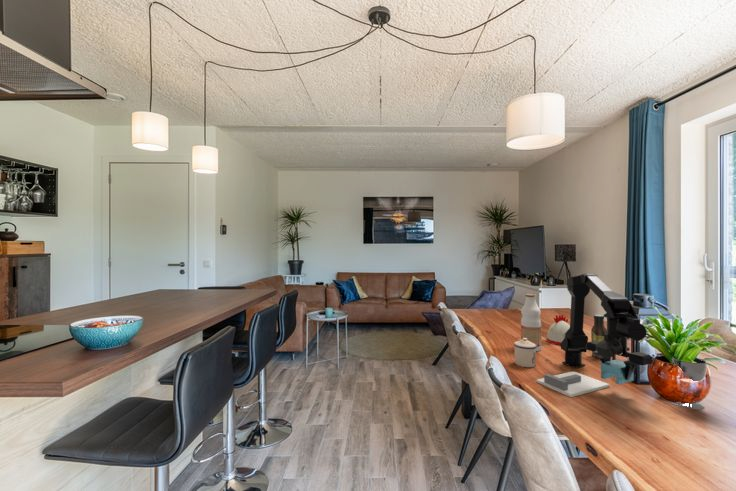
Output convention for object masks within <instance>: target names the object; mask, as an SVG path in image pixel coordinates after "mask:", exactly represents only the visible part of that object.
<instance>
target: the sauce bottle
mask: <svg viewBox="0 0 736 491" xmlns="http://www.w3.org/2000/svg"><path fill="white" fill-rule="evenodd" d="M593 320H594V321H593V325H592V327H591V329H590V330H591V332H590V334H591V336H590V337H591V338H590V340H591V341H590V342H592V341H598V342H600V341H603V340H604V336H605V334H607V327H606V326H605V323H604V321H605V317H604V314H599V313H598V314H594V315H593ZM594 352H595V351H594ZM591 355H592V357H594V358H596V359H600V358H599V357H598V356H597V355H596V354H594V353H593V351H591Z"/></svg>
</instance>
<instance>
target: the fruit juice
mask: <svg viewBox="0 0 736 491" xmlns="http://www.w3.org/2000/svg"><path fill="white" fill-rule="evenodd" d="M536 298H537V294H534V293H526V294H525V302H524V304H523V306H522V307H521V310H520V313H521V318H520V340H523V338H527V340H528V341H530V342H532V343H534V344H535V345H536V352H540V351H541V350H542V320H541V315H542V310H541V309H540V307H539V305H538V303H537V300H536Z"/></svg>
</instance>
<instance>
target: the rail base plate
mask: <svg viewBox="0 0 736 491" xmlns="http://www.w3.org/2000/svg"><path fill="white" fill-rule="evenodd" d="M543 376H544V377H542V378H537V379H536V383H538V384H540V385H542V386H544V387H546V388H549V389H551V390H554V391H556V392H558V393H560V394H563V395H565V396H567V397H569V398H573V397H578V396H581V395H585V394H589V393H593V392H596V391H600V390H604V389H607V388H610V383H608V382H607V383H606V382H604V381H601V380H598V379H596V378H593V377H590V376H588V375H585V374H582V373H579V372H576V371H568V372H564V373H560V374H556V375H554V374H550V373H544V374H543Z"/></svg>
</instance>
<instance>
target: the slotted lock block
mask: <svg viewBox="0 0 736 491" xmlns="http://www.w3.org/2000/svg"><path fill="white" fill-rule="evenodd" d="M634 373H635V370H634V371H633V373H632V375H631V376H630V378H629V380H626V378H625V364H624V362H623V361H622V360H618V359H613V360H612V359H611V361H607V362H601V363H600V378H601V379H603V380H608V379H611V378H615V384H617V385H624V384H627V383H630V382H634V381H635V379H634V378H635V375H634Z"/></svg>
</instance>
